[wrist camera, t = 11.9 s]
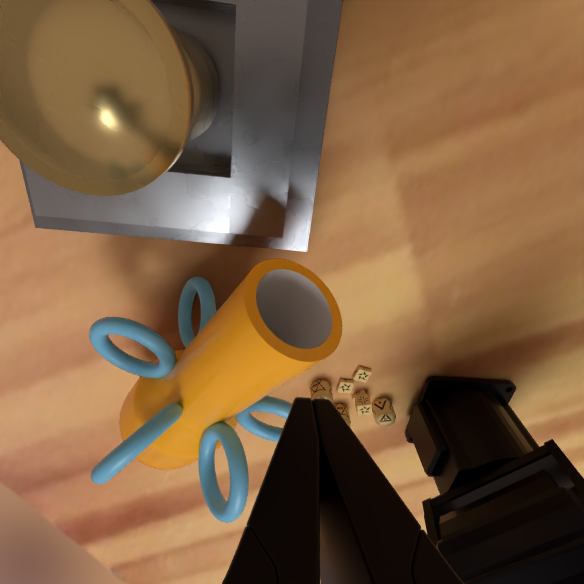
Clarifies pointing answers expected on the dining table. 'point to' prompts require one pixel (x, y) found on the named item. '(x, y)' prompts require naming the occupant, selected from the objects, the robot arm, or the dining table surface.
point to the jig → (230, 135)
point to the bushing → (100, 91)
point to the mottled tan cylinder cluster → (356, 398)
